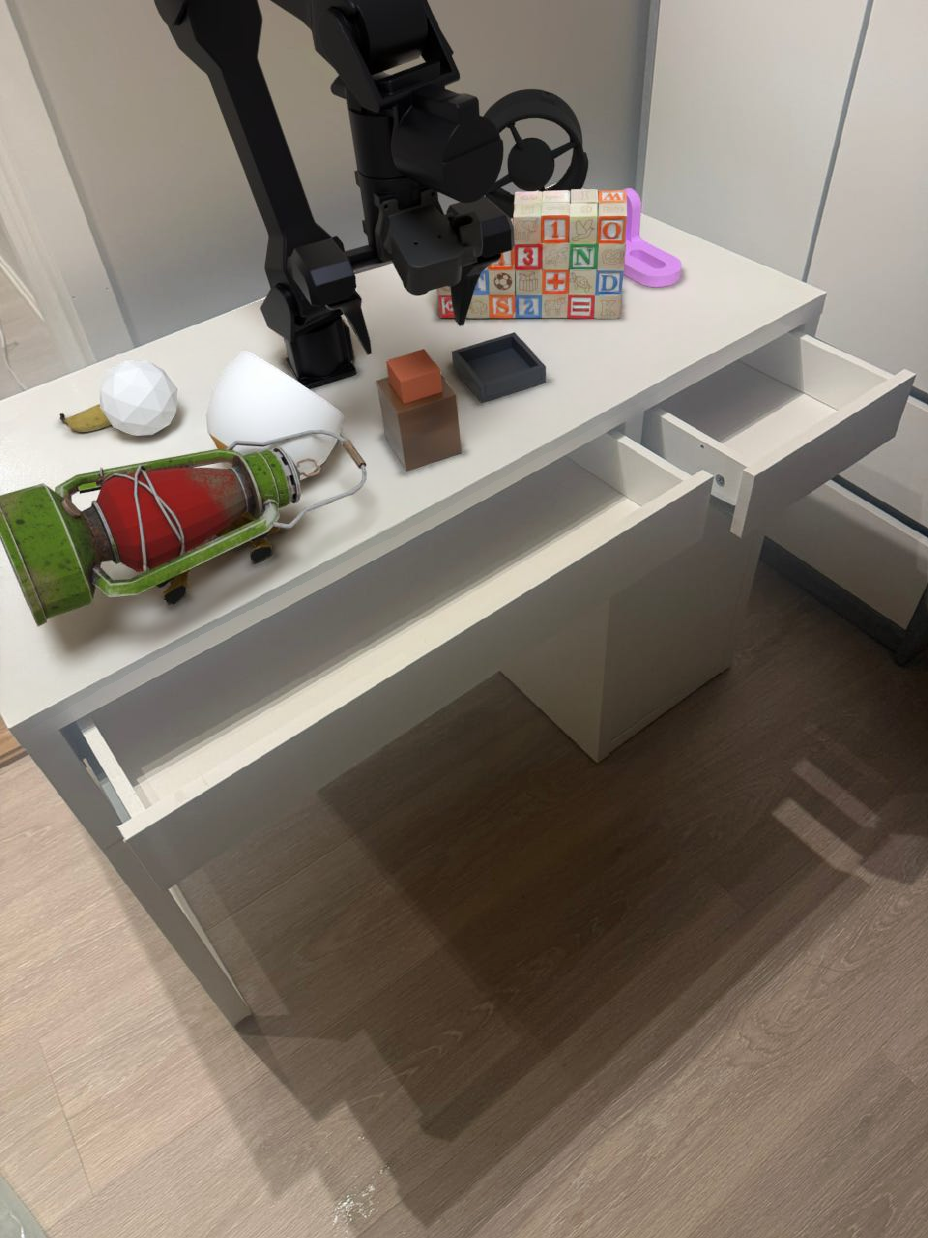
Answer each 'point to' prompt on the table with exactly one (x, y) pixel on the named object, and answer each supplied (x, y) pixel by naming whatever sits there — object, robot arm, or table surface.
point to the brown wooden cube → (420, 425)
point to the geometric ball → (138, 397)
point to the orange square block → (414, 376)
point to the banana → (87, 420)
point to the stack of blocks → (556, 259)
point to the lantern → (146, 521)
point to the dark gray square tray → (498, 367)
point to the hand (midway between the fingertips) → (414, 337)
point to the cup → (270, 412)
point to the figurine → (260, 542)
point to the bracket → (646, 252)
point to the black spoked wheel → (536, 146)
